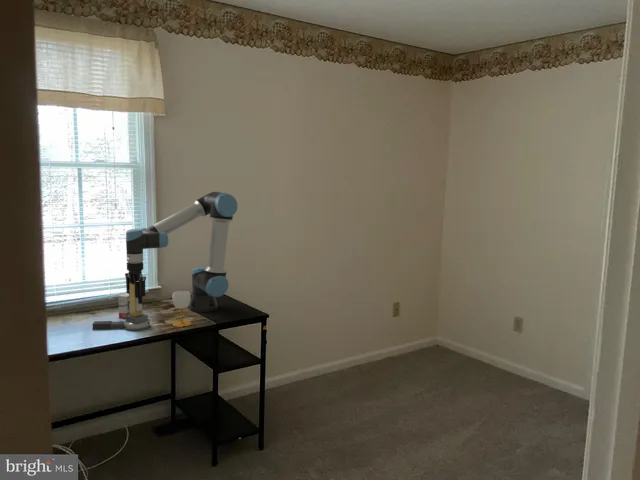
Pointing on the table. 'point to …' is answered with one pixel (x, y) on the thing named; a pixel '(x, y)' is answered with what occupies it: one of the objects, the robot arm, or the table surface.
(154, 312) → the table surface
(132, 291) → the gold square rod
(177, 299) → the cup
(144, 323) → the ratchet
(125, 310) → the ink box
